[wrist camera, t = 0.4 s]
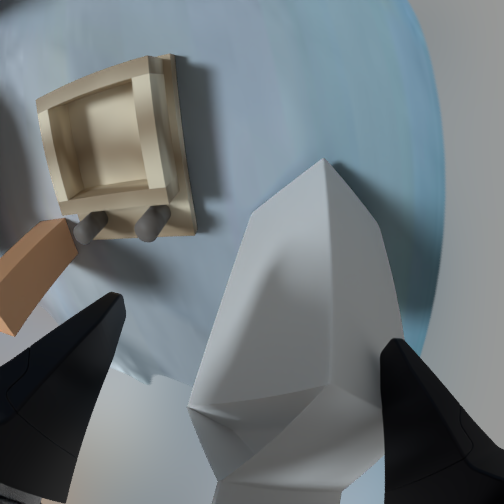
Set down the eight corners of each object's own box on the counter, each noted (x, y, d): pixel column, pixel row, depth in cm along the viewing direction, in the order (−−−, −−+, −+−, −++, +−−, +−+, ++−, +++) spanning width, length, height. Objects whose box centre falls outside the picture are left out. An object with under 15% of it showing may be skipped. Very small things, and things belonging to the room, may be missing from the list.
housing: (197, 229, 22) (185, 256, 19) (91, 234, 23) (70, 258, 20) (174, 55, 15) (152, 48, 11) (58, 93, 16) (26, 100, 12)
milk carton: (323, 155, 17) (310, 534, 3) (379, 224, 20) (409, 506, 6) (251, 211, 21) (160, 486, 7) (309, 265, 24) (280, 505, 10)
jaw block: (78, 253, 25) (15, 336, 15) (53, 254, 25) (-7, 328, 15) (64, 217, 22) (-12, 296, 12) (40, 221, 23) (-31, 292, 13)
